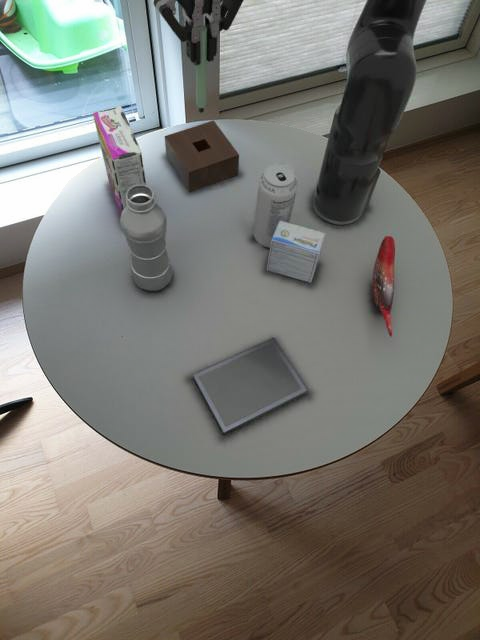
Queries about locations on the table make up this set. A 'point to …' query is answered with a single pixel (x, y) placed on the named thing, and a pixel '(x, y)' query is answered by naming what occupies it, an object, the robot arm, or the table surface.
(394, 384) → the table surface
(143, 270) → the plastic bottle
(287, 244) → the medicine box
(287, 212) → the energy drink can
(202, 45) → the stylus
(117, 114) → the candy bar box
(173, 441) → the table surface
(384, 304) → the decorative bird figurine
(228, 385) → the tablet
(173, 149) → the holder
